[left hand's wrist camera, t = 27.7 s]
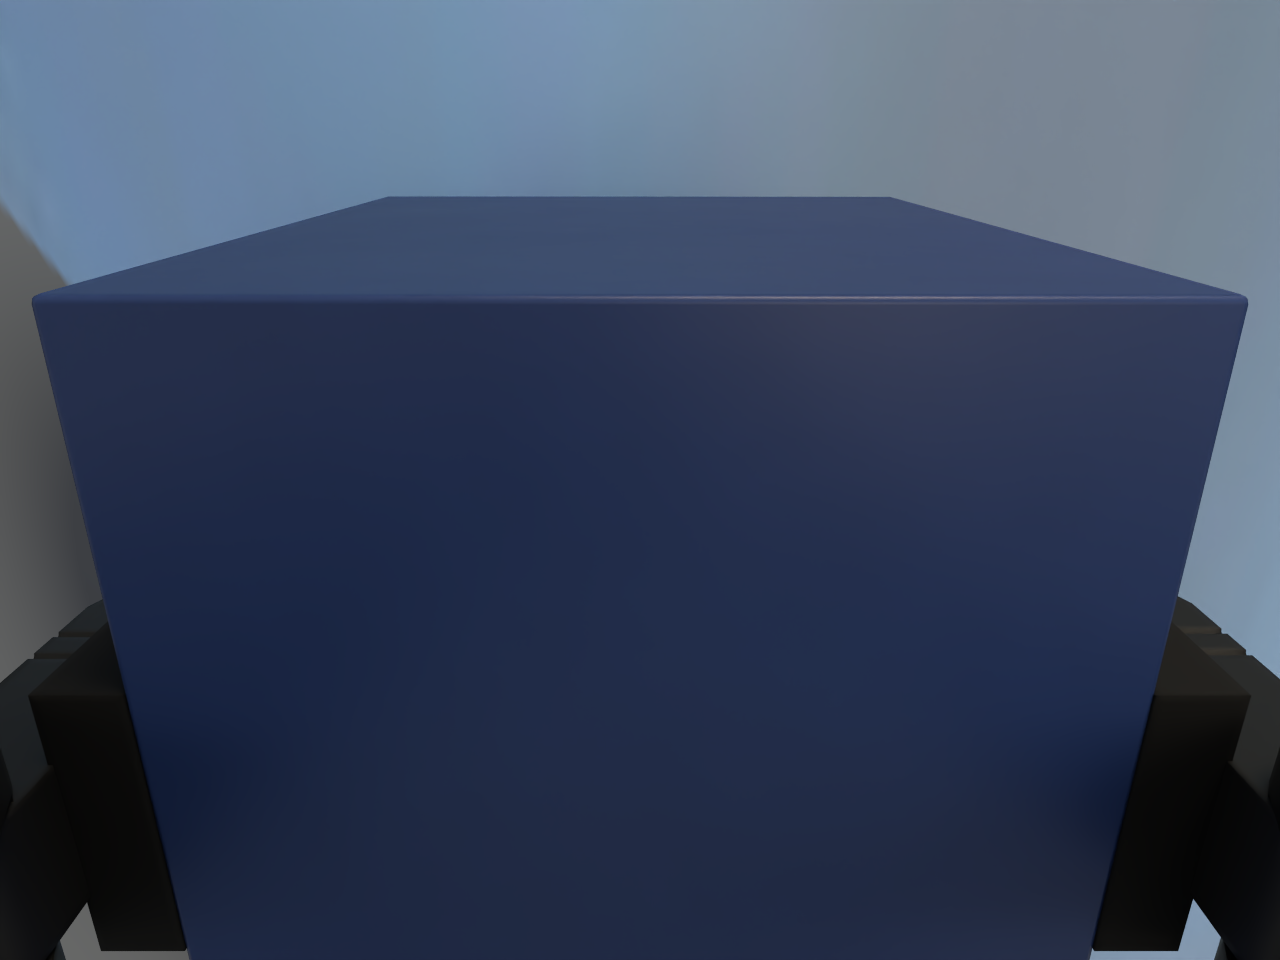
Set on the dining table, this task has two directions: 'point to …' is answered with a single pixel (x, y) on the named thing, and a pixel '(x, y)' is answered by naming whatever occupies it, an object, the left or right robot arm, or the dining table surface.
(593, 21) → the dining table surface
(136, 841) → the left robot arm
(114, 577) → the block
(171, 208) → the dining table surface
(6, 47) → the dining table surface
